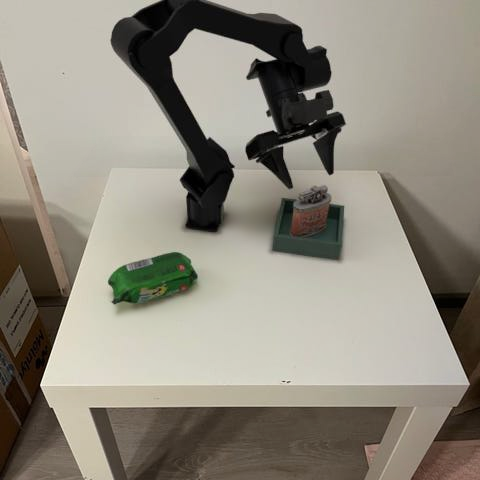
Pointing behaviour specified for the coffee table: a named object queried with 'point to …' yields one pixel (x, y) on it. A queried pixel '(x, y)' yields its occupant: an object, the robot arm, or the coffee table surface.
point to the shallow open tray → (315, 246)
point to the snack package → (152, 278)
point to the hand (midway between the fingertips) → (311, 181)
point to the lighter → (310, 212)
